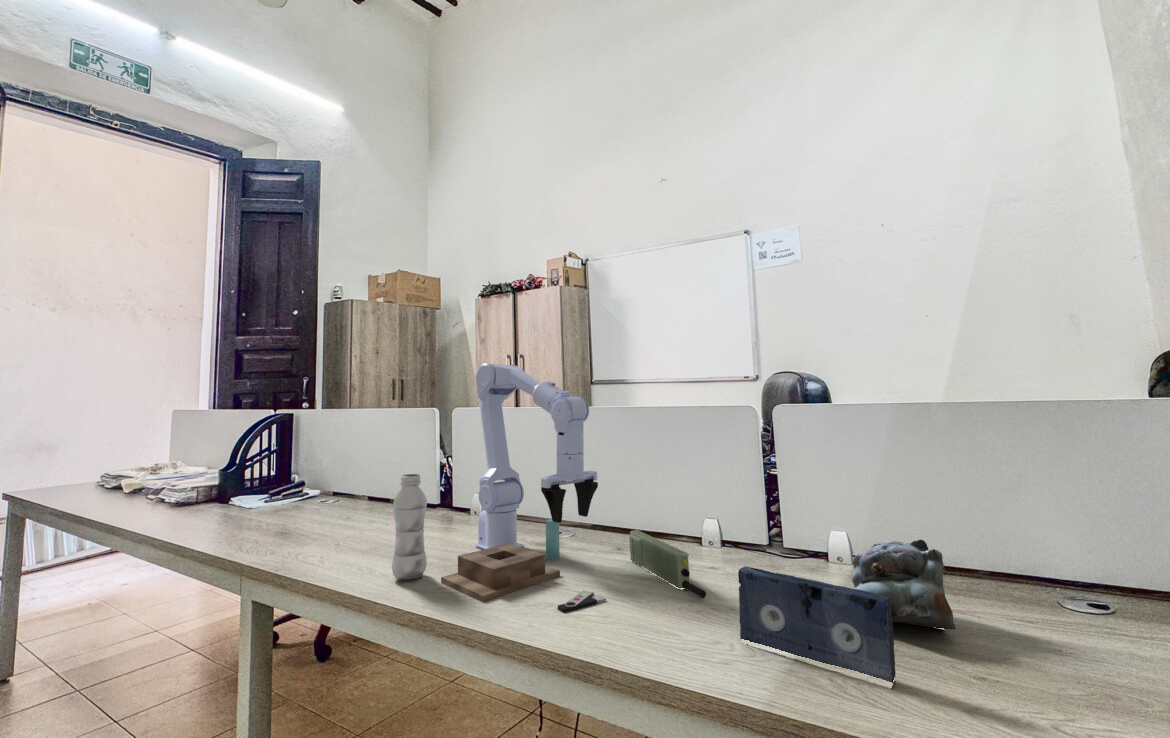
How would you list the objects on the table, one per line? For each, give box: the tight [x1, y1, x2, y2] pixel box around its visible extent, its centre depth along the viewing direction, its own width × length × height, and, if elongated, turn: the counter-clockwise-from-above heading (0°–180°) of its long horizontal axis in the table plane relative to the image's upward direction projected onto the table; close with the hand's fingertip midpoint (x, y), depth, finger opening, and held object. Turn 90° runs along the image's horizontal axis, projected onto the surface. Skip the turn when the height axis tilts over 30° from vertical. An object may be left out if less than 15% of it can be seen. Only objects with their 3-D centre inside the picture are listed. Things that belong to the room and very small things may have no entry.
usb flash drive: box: [557, 590, 607, 614], centre depth 83 cm, size 9×5×1 cm, turn 123°
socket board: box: [440, 544, 561, 603], centre depth 95 cm, size 14×18×4 cm
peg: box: [545, 518, 561, 561], centre depth 109 cm, size 3×3×8 cm
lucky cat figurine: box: [851, 539, 956, 630], centre depth 75 cm, size 15×12×14 cm
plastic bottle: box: [391, 473, 428, 581], centre depth 97 cm, size 6×7×20 cm
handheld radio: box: [628, 529, 707, 599], centre depth 95 cm, size 7×3×25 cm
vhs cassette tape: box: [737, 565, 896, 683], centre depth 64 cm, size 18×3×10 cm, turn 48°
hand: (570, 518), depth 103 cm, fingers open, 7 cm apart
